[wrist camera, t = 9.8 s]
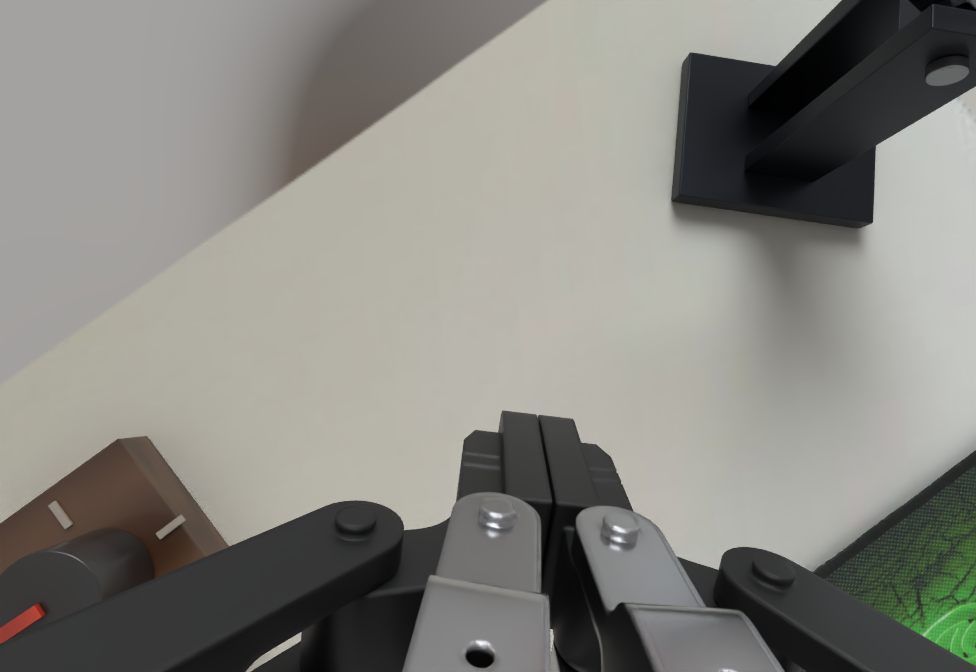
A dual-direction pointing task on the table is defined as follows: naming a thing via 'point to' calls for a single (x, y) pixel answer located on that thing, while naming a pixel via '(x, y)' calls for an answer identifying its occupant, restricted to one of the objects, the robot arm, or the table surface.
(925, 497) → the mouse mat
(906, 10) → the latch lever
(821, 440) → the table surface
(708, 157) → the bracket
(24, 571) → the lock knob
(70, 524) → the panel
